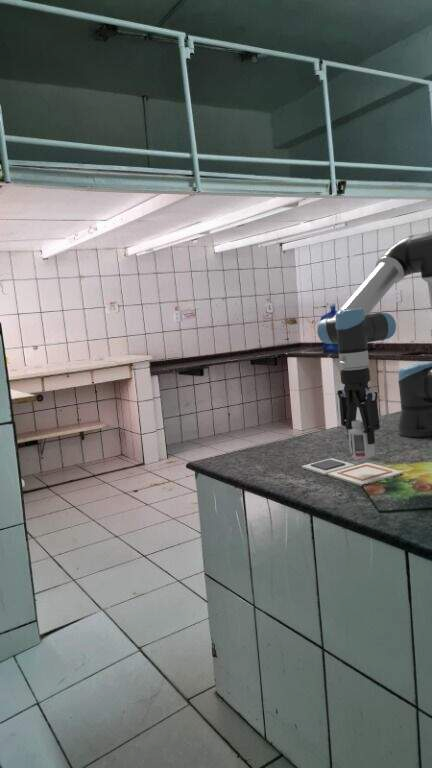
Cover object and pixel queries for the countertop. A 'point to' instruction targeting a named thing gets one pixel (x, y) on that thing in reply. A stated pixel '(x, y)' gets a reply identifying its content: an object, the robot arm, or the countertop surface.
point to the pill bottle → (357, 440)
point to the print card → (364, 473)
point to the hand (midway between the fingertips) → (362, 453)
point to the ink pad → (327, 466)
